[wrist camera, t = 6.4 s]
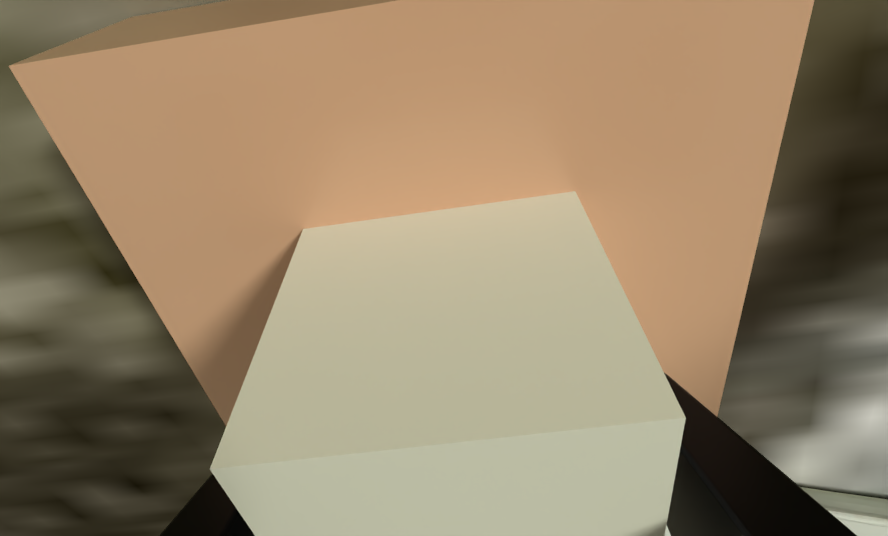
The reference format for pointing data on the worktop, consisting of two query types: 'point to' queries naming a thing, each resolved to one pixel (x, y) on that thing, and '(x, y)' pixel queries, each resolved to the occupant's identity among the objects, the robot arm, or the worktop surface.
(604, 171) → the stand
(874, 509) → the salad plate
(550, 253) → the block
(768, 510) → the robot arm
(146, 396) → the worktop surface
